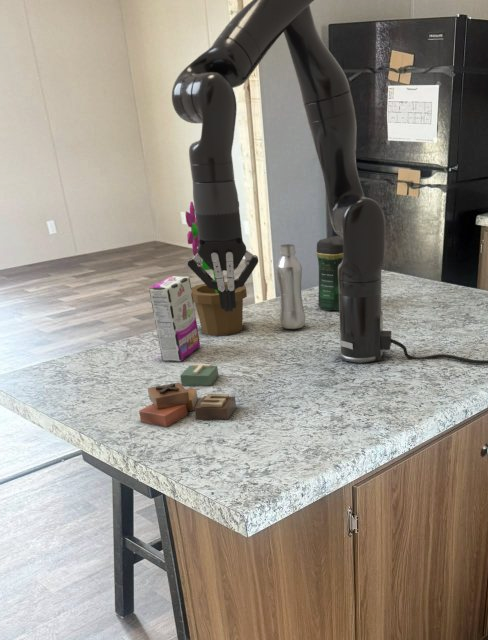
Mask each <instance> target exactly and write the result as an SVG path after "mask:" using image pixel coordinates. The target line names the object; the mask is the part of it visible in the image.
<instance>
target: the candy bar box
mask: <svg viewBox="0 0 488 640" xmlns="http://www.w3.org/2000/svg"><path fill="white" fill-rule="evenodd" d="M190 278H191V277H190V276H187V275H186V276H184V275H183V276H181V275H177V276H176V275H172V276H169V277H167V278H165V279H163V280H161V281H160V282H157V283H156V284H154V285H152V286H150V287H148V291H149V297H150V301H151V308H152V313H153V318H154V322H155V323H154V324H155V329H156V333H157V340H158V345H159V349H160V355H161V361H162V362H178V363H179V362H180V363H181V362H183V361H184V360H186V359H187V358H188V357H189V356H191V355H192V354H193V353H194V352H196V351H197V350H199V349H200V347H201V342H200V341H201V340H200V336H199V328H198V323H197V317H196V309H195V302H193V297H192V290H191V288H192V285H191V279H190Z"/></svg>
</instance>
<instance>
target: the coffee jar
mask: <svg viewBox="0 0 488 640" xmlns="http://www.w3.org/2000/svg"><path fill="white" fill-rule="evenodd" d="M316 258H317V263H318V298H317V299H318V308H320V309H322V310H324V311H329V312H331V311H339V291H338V266H339V264H340V263H341V262H342V260H343V239H341V238H340V237H339V236H338V235H334V236H330V237H326V238H321V239H319V240H318V241H317V243H316Z"/></svg>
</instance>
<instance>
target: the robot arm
mask: <svg viewBox="0 0 488 640" xmlns="http://www.w3.org/2000/svg"><path fill="white" fill-rule="evenodd" d="M314 1H315V0H251V1H250V2H249V3H248V4H246V5H245V6H243V8H241V10H239V12H237V13H236V14H235V15H234V16H233V18H231V20H230V21H229V22H228V24H227V25H226V26H225V27H224V28H223V30H222V31H221V33H220V34H219V35H218V37H217V38H216V39H215V41H214V42H213V43H212V45H211V46H210V47H209V48H208V49H207V50H206V51H205V52H203V53H201V54H200V55H199V56H198V57H197V58H195V60H193V61H192V62H191V63H189V64H188V65H187V66H186V67H185V68H184V69H183V70H182V71H181V72H180V73H179V75H178V76H177V77H176V79H175V81H174V83H173V86H172V90H171V104H172V106H173V109H174V111H175V113H176V115H177V116H178V117H179V118H180V119H182V120H183V121H185V122H187V123H190V124H201V133H200V139H199V140H196V141H194V142H192V143H191V144H190V145H189V148H188V157H189V166H190V167H189V168H190V173H191V181H192V199H193V200H192V201H193V205H194V209H195V217H196V222H197V230H198V237H199V246H198V247H197V252H198V253H197V254H196V255H195V256H194V255H193V257H190V258H189V259H188V261H187V266H188V267H189V268H190V270H191V271H192V272H193V273H194V274H195V275H196V276H197V277H198V278H199V279H200V280H201V281H202V283H203V284H206V285H207V286H208V287H209V288H211V289H212V288H213V289H216V290H217V291H218V292H219V297H220V305H221V308H222V309H225V312H233V308H236V296H235V289H237V288H239V287H243V286H244V285H246V282H247V281H248V279H249V278H250V276H251V275H252V273H253V271H254V270H255V268H256V267H257V265H258V263H259V257H258V255H256V254H253V253H251V252H250V251H249V250H247V246H246V244H245V242H244V241H243V232H242V222H241V214H240V201H239V194H238V190H237V186H236V181H235V171H234V162H233V145H234V139H235V130H236V121H237V107H238V106H237V98H236V93H235V91H234V88H238V87H240V86H242V85H244V84H245V83H246V82H247V81H248V79H249V78H250V77H251V75H252V74H253V73H254V72H255V70H256V68H258V66H259V65H260V63H261V62H262V60H263V59H264V57H265V56H266V54H267V53H268V52H269V50H270V49H271V48H272V47H273V45H274V44H275V43H276V41H277V40H278V39H279V38H280V37H281V35H282V34H283V35H284V39H285V41H286V45H287V48H288V51H289V52H288V53H289V55H290V59H291V62H292V65H293V69H294V72H295V73H294V74H295V76H296V80H297V83H298V87H299V92H300V97H301V102H302V105H303V109H304V113H305V117H306V121H307V125H308V127H309V131H310V135H311V138H312V143H313V146H314V150H315V152H316V156H317V160H318V163H319V166H320V170H321V173H322V177H323V183H324V187H325V194H326V199H327V206H328V207H327V208H328V213H329V219H330V223H331V226H332V229H333V231H334V233H335V234H336V236H339V237H340V238H341V239H343V260H342V262H341V263H340V264H339V266H338V291H339V310H338V313H339V317H338V318H339V346H340V352H339V353H340V359H341V360H343V361H345V362H349V363H353V364H354V363H355V364H356V363H357V364H362V363H363V364H365V363H372V362H381V361H382V358H383V355H384V351H390V350H391V347H392V344H394V345H396V346H398V347H400V348H401V349H402V350H403V355H404V357H406V358H407V359H409V360H434V359H449V360H450V359H451V360H455V361H460V362H464V363H469V364H475V365H477V364H478V365H488V359H487V360H485V359H484V360H483V359H472V358H467V357H463V356H458V355H453V354H446V353H445V354H443V353H439V354H431V355H427V356H420V357H419V356H413V355H411V354H409V353H408V350H407V347H406V346H405V345H404V344H403V343H402V342H400V341H398V340H395V339H392V330H384V329H383V328H384V327H383V324H384V323H383V322H384V320H383V315H384V313H383V310H382V270H383V267H384V265H385V258H386V252H385V251H386V218H385V212H384V210H383V209H382V207H381V205H380V204H379V203H378V202H377V201H376V200H374V199H372V198H369V197H366V196H365V193H364V191H363V187H362V183H361V179H360V177H359V171H358V166H357V158H356V157H357V134H358V133H357V131H358V130H357V129H358V128H357V127H358V125H357V124H358V123H357V115H356V109H355V104H354V101H353V96H352V91H351V86H350V82H349V80H348V78H347V74H345V72H344V69H343V68H342V67H341V65H340V64H339V62H338V60H337V59H336V58H335V57H334V55H333V54H332V53H331V51H330V50H329V48H328V47H327V45H326V44H325V43H324V41H323V39H322V38H321V36H320V34H319V32H318V29H317V27H316V23H315V20H314V18H313V17H314V16H313V13H312V10H311V4H312V3H313V2H314ZM243 258H244V264H245V267H244V268H243V270H242V271H241V273H240V275H239V276H238V278H236V279H235V270H237V269H238V267H239V266H240V264H241V262H242V260H243ZM202 261H204V262H205V263H206V264H207V265H208V266H209V267H210V270H212V271H214V272H215V277H216V280H217V281H215V280H214V277H212V276H211V275H210V273H208V272H207V270H204V269H203V268H202V265H203V263H202ZM224 271H226V280H227V281H225V276H224ZM225 282H227V285H228V286H227V288H228V289H226V288H225Z"/></svg>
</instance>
